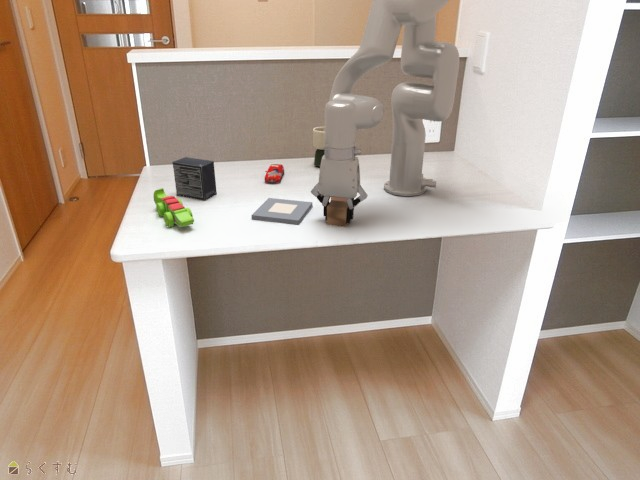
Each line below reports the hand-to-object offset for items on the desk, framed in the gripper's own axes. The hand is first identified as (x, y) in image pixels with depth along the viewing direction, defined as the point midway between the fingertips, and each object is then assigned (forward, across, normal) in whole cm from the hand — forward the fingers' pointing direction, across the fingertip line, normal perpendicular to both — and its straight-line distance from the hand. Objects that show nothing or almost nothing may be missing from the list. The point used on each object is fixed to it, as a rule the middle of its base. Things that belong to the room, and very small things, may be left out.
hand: (338, 219), depth 130 cm
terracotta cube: (+1, +2, -12) cm, 12 cm away
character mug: (+1, +16, -45) cm, 48 cm away
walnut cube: (+1, 0, 0) cm, 1 cm away
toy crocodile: (+1, +42, +9) cm, 43 cm away
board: (+1, +16, -2) cm, 16 cm away
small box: (+1, +45, -8) cm, 46 cm away
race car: (+1, +28, -29) cm, 40 cm away
